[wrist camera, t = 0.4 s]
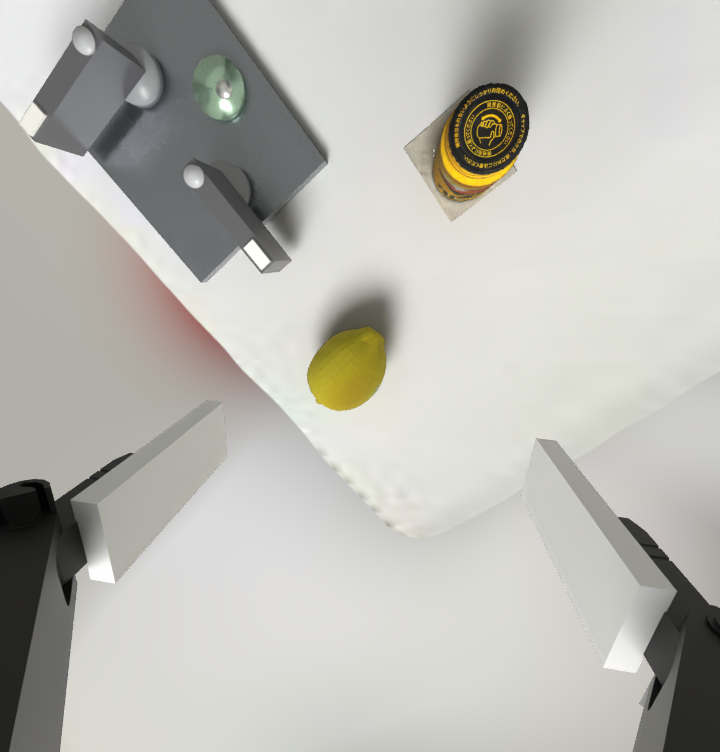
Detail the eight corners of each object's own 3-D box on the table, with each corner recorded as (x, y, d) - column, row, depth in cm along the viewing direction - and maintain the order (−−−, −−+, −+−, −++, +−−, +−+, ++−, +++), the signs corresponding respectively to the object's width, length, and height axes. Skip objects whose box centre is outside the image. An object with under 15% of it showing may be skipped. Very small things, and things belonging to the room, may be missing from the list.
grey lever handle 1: (137, 35, 33) (76, -16, 27) (173, 81, 34) (122, 43, 28) (69, 131, 36) (1, 106, 30) (103, 171, 37) (44, 155, 31)
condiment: (451, 222, 36) (471, 206, 25) (403, 148, 35) (402, 96, 23) (515, 172, 34) (570, 130, 23) (468, 91, 32) (502, 3, 21)
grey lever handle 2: (198, 186, 37) (156, 172, 31) (228, 152, 35) (191, 130, 29) (273, 279, 39) (249, 284, 33) (305, 251, 37) (285, 250, 31)
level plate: (63, 113, 37) (43, 105, 35) (174, -49, 32) (157, -70, 30) (206, 281, 41) (196, 283, 39) (327, 163, 36) (322, 158, 34)
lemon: (343, 408, 44) (330, 439, 37) (300, 364, 43) (278, 386, 36) (409, 355, 41) (410, 377, 34) (365, 305, 40) (356, 316, 32)
